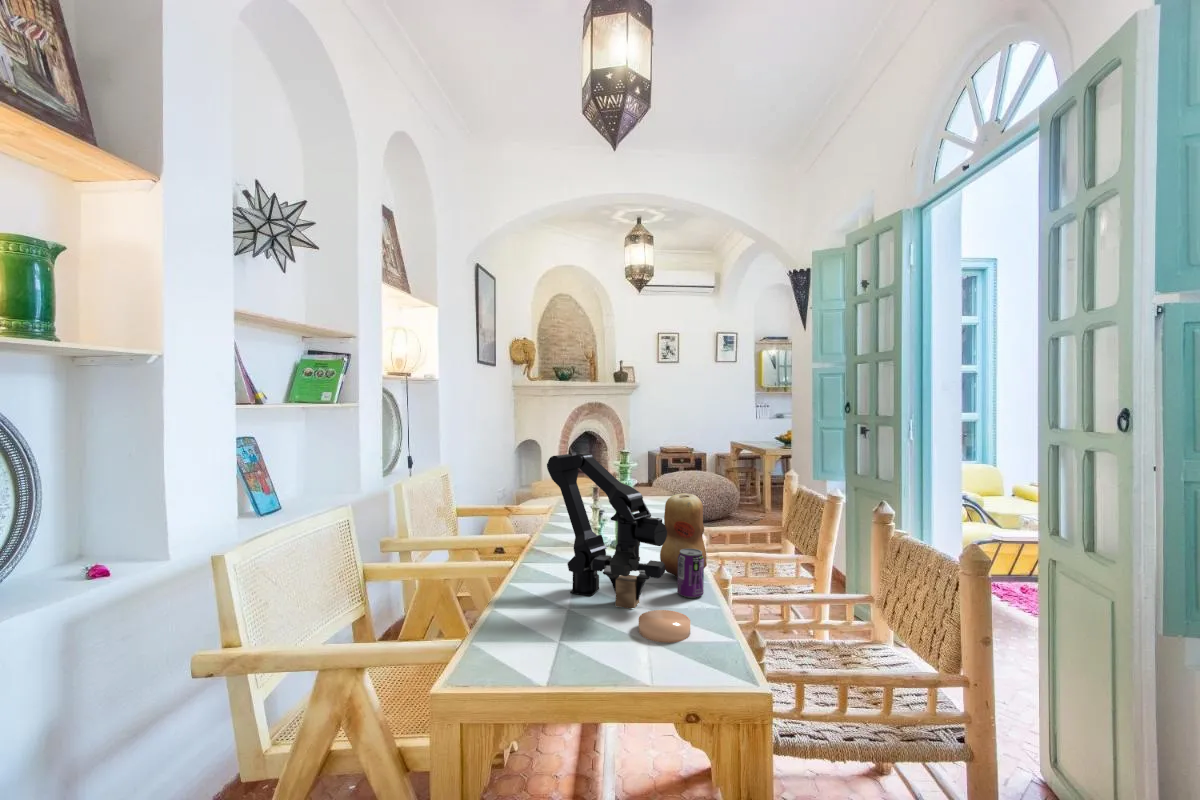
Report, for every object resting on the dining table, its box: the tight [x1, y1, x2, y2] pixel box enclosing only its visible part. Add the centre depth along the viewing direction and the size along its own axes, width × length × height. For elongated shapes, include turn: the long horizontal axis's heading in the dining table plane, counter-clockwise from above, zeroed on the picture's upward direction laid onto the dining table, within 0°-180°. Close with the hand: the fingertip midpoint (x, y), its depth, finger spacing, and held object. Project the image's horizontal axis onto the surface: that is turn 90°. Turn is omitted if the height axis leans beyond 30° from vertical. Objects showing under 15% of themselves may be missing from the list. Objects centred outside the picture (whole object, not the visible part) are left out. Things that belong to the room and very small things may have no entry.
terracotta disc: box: [638, 609, 691, 644], centre depth 134 cm, size 12×12×3 cm
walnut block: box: [615, 574, 640, 609], centre depth 151 cm, size 5×5×7 cm
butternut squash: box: [659, 492, 708, 579], centre depth 173 cm, size 14×13×25 cm
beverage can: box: [676, 549, 705, 599], centre depth 158 cm, size 7×7×12 cm
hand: (627, 598), depth 151 cm, fingers closed on walnut block, 5 cm apart
